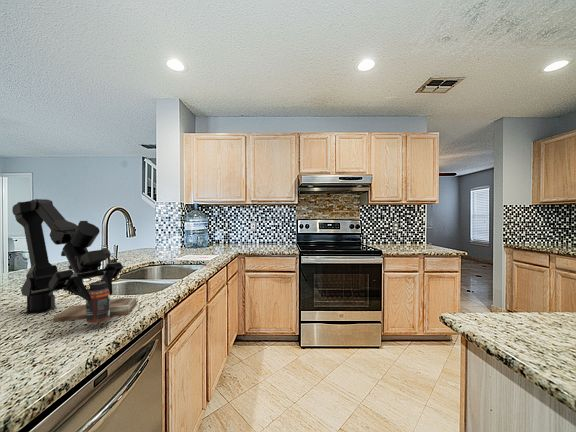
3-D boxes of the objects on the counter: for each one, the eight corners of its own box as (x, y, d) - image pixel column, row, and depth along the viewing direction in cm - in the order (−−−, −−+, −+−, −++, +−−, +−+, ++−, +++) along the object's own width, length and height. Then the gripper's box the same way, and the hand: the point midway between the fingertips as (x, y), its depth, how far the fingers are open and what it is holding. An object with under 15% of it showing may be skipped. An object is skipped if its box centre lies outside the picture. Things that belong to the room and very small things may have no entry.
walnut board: (53, 321, 87) (53, 312, 87) (71, 309, 98) (71, 301, 98) (128, 314, 93) (128, 306, 93) (136, 303, 104) (136, 296, 104)
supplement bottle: (114, 316, 86) (114, 280, 86) (99, 324, 80) (99, 285, 80) (96, 315, 87) (96, 279, 87) (80, 323, 81) (80, 284, 81)
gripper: (54, 243, 76) (77, 288, 72) (119, 238, 93) (142, 273, 89) (39, 269, 80) (60, 313, 75) (105, 259, 97) (125, 295, 92)
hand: (100, 297), depth 83 cm, fingers closed on supplement bottle, 6 cm apart
